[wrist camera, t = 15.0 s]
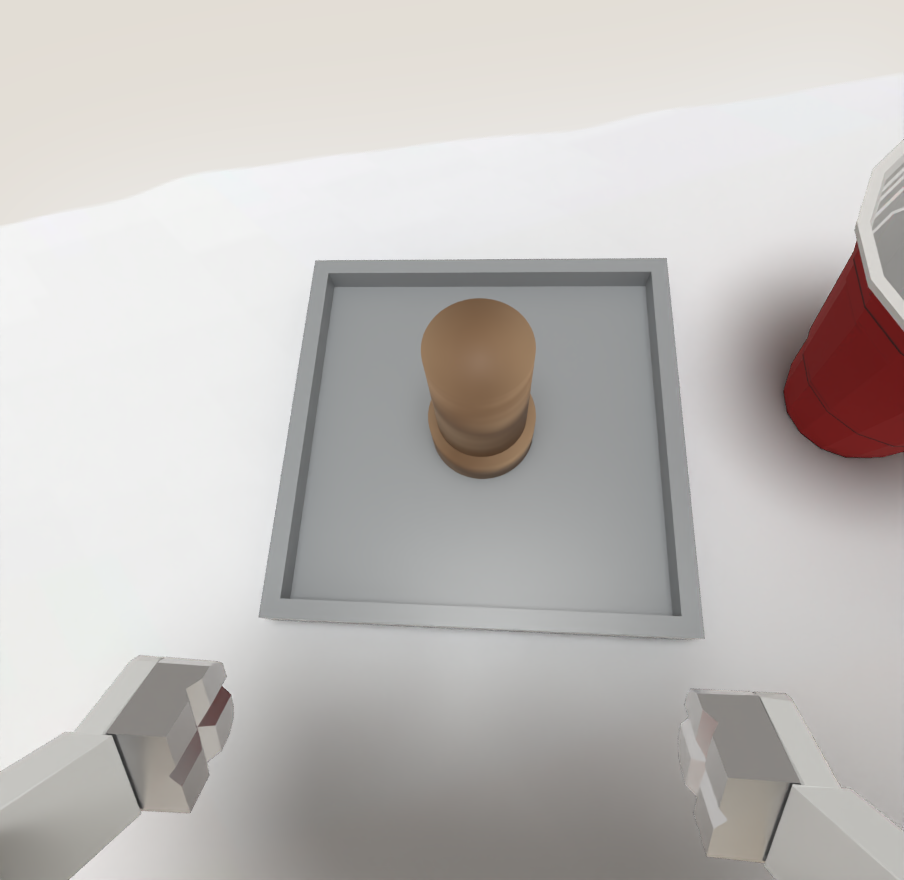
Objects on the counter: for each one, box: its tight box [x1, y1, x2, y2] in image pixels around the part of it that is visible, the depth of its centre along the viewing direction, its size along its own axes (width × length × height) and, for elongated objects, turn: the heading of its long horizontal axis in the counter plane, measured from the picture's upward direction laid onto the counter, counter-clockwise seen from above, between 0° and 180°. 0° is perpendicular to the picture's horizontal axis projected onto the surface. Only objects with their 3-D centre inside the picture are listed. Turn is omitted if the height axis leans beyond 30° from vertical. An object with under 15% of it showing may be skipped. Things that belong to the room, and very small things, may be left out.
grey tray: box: [259, 258, 705, 640], centre depth 27 cm, size 18×18×2 cm
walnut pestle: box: [421, 298, 536, 479], centre depth 24 cm, size 5×5×8 cm
